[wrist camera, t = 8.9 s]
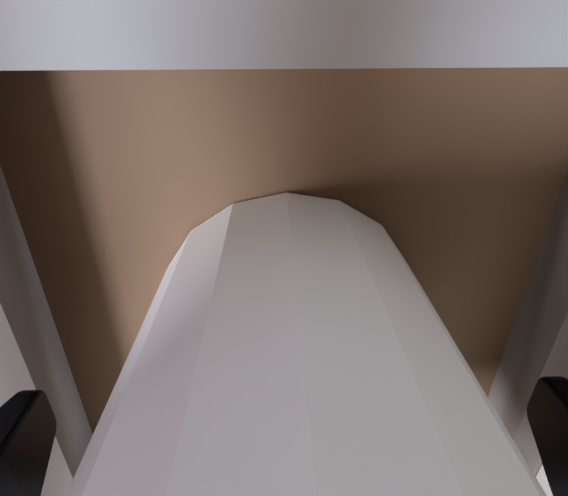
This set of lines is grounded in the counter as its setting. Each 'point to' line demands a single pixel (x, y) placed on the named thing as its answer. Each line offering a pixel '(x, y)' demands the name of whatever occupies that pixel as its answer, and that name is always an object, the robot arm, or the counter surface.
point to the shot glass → (297, 372)
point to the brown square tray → (278, 170)
